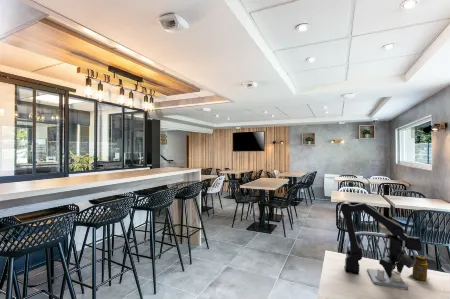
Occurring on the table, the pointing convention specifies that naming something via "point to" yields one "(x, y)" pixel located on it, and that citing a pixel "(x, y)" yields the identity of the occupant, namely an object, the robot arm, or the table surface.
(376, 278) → the post board
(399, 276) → the cream rounded dome
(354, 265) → the robot arm
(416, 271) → the condiment
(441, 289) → the table surface
